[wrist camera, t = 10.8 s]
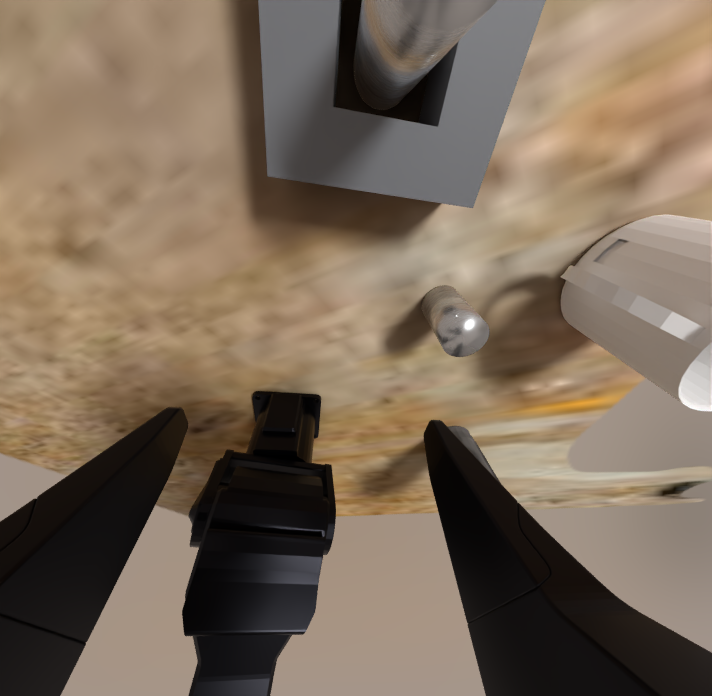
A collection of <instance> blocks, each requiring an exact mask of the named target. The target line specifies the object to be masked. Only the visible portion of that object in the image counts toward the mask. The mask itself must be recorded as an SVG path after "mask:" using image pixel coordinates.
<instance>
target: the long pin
mask: <svg viewBox="0 0 712 696" xmlns="http://www.w3.org/2000/svg"><path fill="white" fill-rule="evenodd" d="M496 1H497V0H362V4H361V12H360V19H359V26H358V34H357V41H356V48H355V56H354V64H353V73H354V80H355V85H356V88H357V90H358V93H359V95H360V96H361V98H362V99H363V100H364V102H365V103H366V104H367V105H369V106H370V107H372V108H374V109H377V110H387V109H390V108H392V107H394V106H396V105H397V104H398V103H399V102H400V101H401V100H402V99H403V98H404V97H405V96H406V95H407V94H408V93H409V92H410V91H411V90H412V89H413V88H414V87H415V86H416V85H417V84H418V83H419V82H420V81H421V80H422V78H423V77H424V76H425V75H426V74H427V73H428V72H429V71H430V70H431V69H432V68H433V67H434V66H435V65H436V64H437V63H438V62H439V61H440V60H441V59H442V58H443V57H444V56H445V55H446V54H447V53H448V52H449V51H450V49H451V48H452V47H453V46H454V45H455V44H456V43H457V42H458V41H459V40H460V39H461V38H462V37H463V36H464V35H465V34H466V33H467V32H468V31H469V30H470V29H471V28H472V27H473V26H474V25H475V24H476V23H477V21H478V20H479V19H480V18H481V17H482V16H483V15H484V14H485V13H486V12H487V11H488V10H489V9H490V8H491V7H492V6H493V5H494V4H495V3H496Z"/></svg>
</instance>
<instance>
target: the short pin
mask: <svg viewBox="0 0 712 696" xmlns="http://www.w3.org/2000/svg"><path fill="white" fill-rule="evenodd" d="M422 312H423V314H424V315H425V317H426V319H427V321H428V322H429V324H430V326H431V328H432V330H433V331H434V333H435V335H436V337H437V339H438V340H439V342H440V344H441V346H442V347H443V349H444V351H445V352H446V353H447V354H449V355H451V356H455V357H463V356H468V355H471V354H473V353H475V352H476V351H478V350H479V349H481V348H482V347H483V346H484V344H485V343H486V341H487V340H488V337H489V326H488V324H487V323H486V322H485V321H484V320H483V319H482V318H481V317H480V315H479V314H478V313H477V312H476V311H475V310H474V309H473V308H472V307H471V306H470V305H469V304H468V302H467V301H466V300H465V299H464V298H463V297H462V296H461V295H460V294H459V293H458V292H457V291H456V290H455V289H454V288H453V287H451V286H445V285H444V286H438V287H435V288H433V289H432V290H430V291H429V292H428V293H427V294H426V295H425V297H424V299H423V301H422Z"/></svg>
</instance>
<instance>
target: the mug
mask: <svg viewBox="0 0 712 696" xmlns="http://www.w3.org/2000/svg"><path fill="white" fill-rule="evenodd" d="M561 278H563V279H565V280H566V282H565V284H564V287H563V289H562V294H561V299H560V300H561V311H562V314H563V317H564V319H565V320H566V321H567V323H568V324H570V325H571V326H572V327H574V328H575V329H577V330H578V331H580V332H581V333H582V334H584V335H585V336H587V337H588V338H590V339H591V340H592V341H594V342H595V343H597V344H598V345H600V346H601V347H602V348H604V349H605V350H607V351H608V352H610V353H611V354H612V355H614V356H615V357H617V358H618V359H620V360H621V361H622V362H624V363H625V364H627V365H628V366H630V367H631V368H633V369H634V370H635V371H637V372H638V373H640V374H641V375H643V376H644V377H645V378H647V379H648V380H650V381H651V382H653V383H654V384H655V385H657V386H658V387H660V388H661V389H663V390H664V391H665V392H667V393H668V394H670V395H671V396H673V397H674V398H675V399H677V400H678V401H680V402H681V403H683V404H684V405H686V406H687V407H689V408H691V409H695V410H699V411H712V221H708V220H702V219H695V218H688V217H682V216H675V215H667V214H666V215H656V216H651V217H647V218H644V219H640V220H637V221H634V222H632V223H629V224H627V225H625V226H623V227H621V228H618V229H617V230H615V231H614V232H612V233H610V234H609V235H607V236H605V237H604V238H603V239H602V240H600V241H599V242H598V243H596V244H595V245H594V246H593V247H592V248H591V249H590V250H589V251H588V252H587V253H586V254H585V255H583V256H582V258H581V259H580V260H579V261H578V263H577V264H576V265H575V266H571V265H570V266H569V267H568V269H567V270H566V271H565V273H564V274H563V275H562V276H561Z"/></svg>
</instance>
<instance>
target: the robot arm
mask: <svg viewBox="0 0 712 696" xmlns="http://www.w3.org/2000/svg"><path fill="white" fill-rule="evenodd" d="M258 396H259V397H258ZM252 399H253V406H254V413H255V421H256V425H255V428H254V431H253V434H252V437H251V440H250V443H249V446H248V449H247V452H246V453H239V452H234V450H226V453H225V455H224V457H223V458H221V459H220V460H218V461H216V463H215V466H214V468H213V470H212V473H211V475H210V477H209V480H208V482H207V483H206V485H205V487H204V488H203V490H202V491H201V493H200V495H199V496H198V498H197V499H196V501H195V503H194V504H193V506H192V508H191V510H190V512H189V518H190V520H191V522H192V530H191V533H192V536H191V540H190V547H199V550H198V553H197V556H196V560H195V563H194V566H193V570H192V573H191V576H190V579H189V583H188V586H187V589H186V594H185V603H184V607H183V610H182V616H183V627H184V635H185V636H193V639H194V644H195V649H196V654H197V659H198V664H197V667H196V671H195V674H194V678H193V682H192V686H191V689H190V693H189V696H270V693H271V688H272V682H273V676H274V671H275V666H276V661H277V658H278V656H279V655H280V653H281V652H282V650H283V649H284V647H285V645H286V644H287V642H288V641H289V639H290V637H291V636H292V635H301V634H304V633H305V632H306V630H307V628H308V626H309V624H310V621H311V619H312V617H313V615H314V613H315V609H316V600H317V590H318V582H319V575H320V570H321V564H322V559H323V555H327V554H328V552H329V550H330V547H331V544H332V540H333V535H334V529H335V519H336V505H335V495H334V486H333V476H332V467H331V465H330V464H325V465H322V464H315V463H312V453H313V442H314V438H317V437H318V432H319V420H320V408H321V397H320V396H319V395H314V394H297V393H280V392H262V391H256V392H254V394H253V397H252ZM315 399H317V400H315ZM187 428H188V421H187V419H186V416H185V413H184V410H183V409H182V408H180V407H168V408H166V409H165V410H163V411H162V412H160V413H159V414H157V415H156V416H154V417H153V418H151V419H150V420H148V421H147V422H146V423H144V424H143V425H141V426H140V427H138V428H137V429H135V430H134V431H132V432H131V433H130V434H128V435H127V436H125V437H124V438H122V439H121V440H119V441H118V442H116V443H115V444H113V445H112V446H111V447H109V448H108V449H106V450H105V451H103V452H102V453H100V454H99V455H97V456H96V457H95V458H93V459H92V460H90V461H89V462H87V463H86V464H84V465H83V466H81V467H80V468H78V469H77V470H76V471H74V472H73V473H71V474H70V475H68V476H67V477H65V478H64V479H62V480H61V481H59V482H58V483H57V484H55V485H54V486H52V487H51V488H49V489H48V490H46V491H45V492H44V493H42V494H41V495H39V496H38V497H37V499H33V500H32V501H30V502H29V503H27V504H26V505H25V506H23V507H21V508H20V509H18V510H17V511H16V512H14V513H13V514H11V515H10V516H8V517H7V518H5V519H4V520H2V521H1V522H0V696H60V695H61V693H62V691H63V689H64V687H65V685H66V683H67V681H68V679H69V677H70V675H71V673H72V671H73V669H74V667H75V665H76V663H77V661H78V659H79V657H80V655H81V653H82V651H83V649H84V647H85V645H86V642H87V641H88V639H89V637H90V635H91V632H92V630H93V629H94V626H95V625H96V622H97V621H98V619H99V617H100V615H101V612H102V610H103V608H104V606H105V604H106V602H107V600H108V598H109V596H110V594H111V592H112V590H113V588H114V586H115V584H116V582H117V580H118V578H119V576H120V574H121V572H122V570H123V568H124V566H125V564H126V562H127V560H128V558H129V556H130V554H131V552H132V550H133V548H134V546H135V544H136V542H137V540H138V538H139V536H140V534H141V532H142V530H143V528H144V526H145V524H146V522H147V520H148V518H149V516H150V514H151V512H152V510H153V508H154V506H155V504H156V502H157V500H158V498H159V496H160V494H161V492H162V490H163V488H164V486H165V484H166V482H167V480H168V478H169V476H170V474H171V471H172V469H173V466H174V464H175V461H176V458H177V456H178V453H179V450H180V448H181V445H182V442H183V440H184V437H185V434H186V431H187ZM424 443H425V450H426V457H427V463H428V470H429V476H430V481H431V485H432V489H433V492H434V496H435V500H436V504H437V508H438V512H439V515H440V520H441V523H442V527H443V531H444V535H445V539H446V543H447V547H448V550H449V554H450V558H451V562H452V566H453V570H454V573H455V577H456V581H457V585H458V589H459V593H460V596H461V600H462V604H463V608H464V612H465V616H466V620H467V623H468V628H469V632H470V636H471V640H472V643H473V648H474V651H475V655H476V659H477V663H478V666H479V671H480V675H481V678H482V682H483V686H484V690H485V694H486V696H712V653H711V652H710V651H708V650H706V649H704V648H702V647H701V646H699V645H697V644H695V643H693V642H692V641H690V640H688V639H686V638H684V637H682V636H681V635H679V634H677V633H676V632H674V631H672V630H670V629H668V628H667V627H665V626H663V625H661V624H659V623H658V622H656V621H654V620H652V619H651V618H649V617H647V616H645V615H643V614H642V613H640V612H638V611H637V610H635V609H633V608H632V607H630V606H629V605H627V604H626V603H625V602H623V601H622V600H620V599H619V598H618V597H617V596H615V595H614V594H613V593H612V592H611V591H609V590H608V589H607V588H606V587H605V586H604V585H603V584H602V583H601V582H599V581H598V580H597V579H596V578H595V577H594V576H593V575H592V574H591V573H590V572H589V571H588V570H587V569H586V568H585V567H583V566H582V565H581V564H580V563H579V562H578V561H577V560H576V559H575V558H574V557H573V556H572V555H571V554H570V553H569V552H567V551H566V550H565V549H564V548H563V547H562V546H561V545H560V544H559V543H558V542H557V541H556V540H555V539H554V538H553V537H552V536H551V535H550V534H549V533H548V532H547V531H546V530H544V529H543V527H542V526H540V525H539V523H538V522H537V521H536V520H535V519H534V518H533V517H532V516H531V515H530V514H529V513H528V512H527V511H526V510H525V509H524V508H523V507H522V506H521V505H520V504H519V503H517V500H516V499H515V498H514V497H513V496H512V495H511V494H510V493H509V492H508V491H507V490H506V489H505V488H504V487H503V486H502V485H501V483H500V482H499V481H498V480H497V479H496V478H495V477H494V476H493V475H492V474H491V473H490V472H489V471H488V470H487V469H486V468H485V466H484V465H483V464H482V463H481V462H480V461H479V460H478V459H477V458H476V457H475V456H474V455H473V454H472V453H471V452H470V450H469V449H468V448H467V447H466V446H465V445H464V444H463V443H462V442H461V441H460V440H459V439H458V438H457V437H456V436H455V435H454V433H453V432H452V431H451V430H450V429H449V428H448V427H447V426H446V425H445V424H444V423H443V422H442V421H440V420H431V421H429V423H428V426H427V428H426V430H425V432H424Z"/></svg>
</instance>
